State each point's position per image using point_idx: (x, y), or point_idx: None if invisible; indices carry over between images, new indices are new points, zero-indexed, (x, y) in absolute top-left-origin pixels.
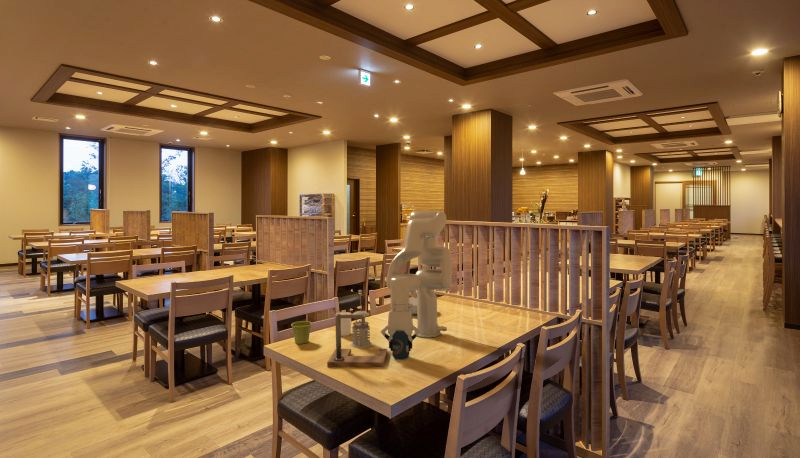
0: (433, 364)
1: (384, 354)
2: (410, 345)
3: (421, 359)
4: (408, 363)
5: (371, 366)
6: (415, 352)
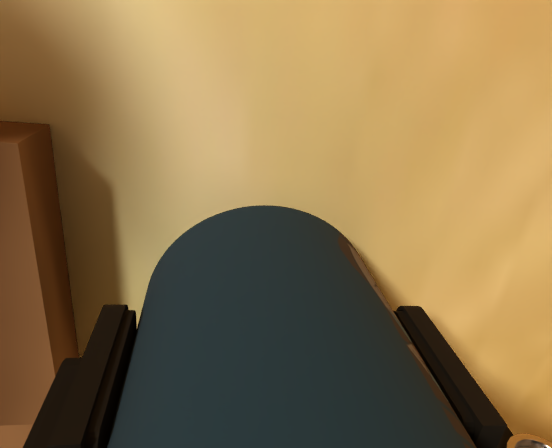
0: (525, 419)
1: (36, 374)
2: None
3: (466, 324)
4: None
5: None
6: (467, 98)
